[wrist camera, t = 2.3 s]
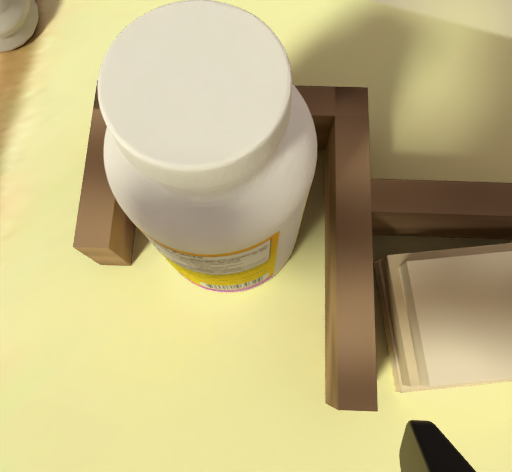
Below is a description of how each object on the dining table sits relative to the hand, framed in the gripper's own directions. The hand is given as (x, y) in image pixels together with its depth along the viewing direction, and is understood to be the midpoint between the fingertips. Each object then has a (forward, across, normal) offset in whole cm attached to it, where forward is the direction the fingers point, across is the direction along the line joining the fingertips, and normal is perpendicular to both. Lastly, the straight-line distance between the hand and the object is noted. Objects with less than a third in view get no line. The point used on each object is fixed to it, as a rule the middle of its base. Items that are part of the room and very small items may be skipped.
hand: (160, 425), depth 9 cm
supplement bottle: (+15, 0, +4) cm, 15 cm away
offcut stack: (+12, -11, +7) cm, 18 cm away
